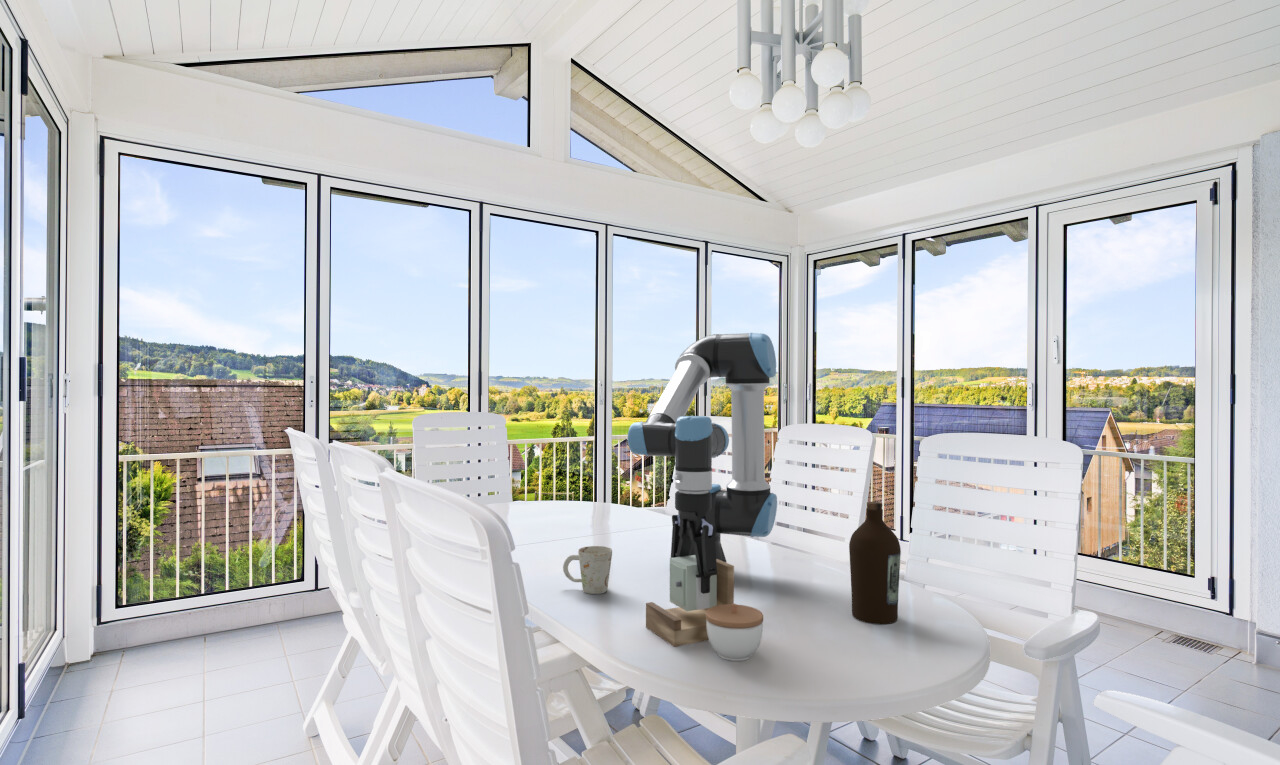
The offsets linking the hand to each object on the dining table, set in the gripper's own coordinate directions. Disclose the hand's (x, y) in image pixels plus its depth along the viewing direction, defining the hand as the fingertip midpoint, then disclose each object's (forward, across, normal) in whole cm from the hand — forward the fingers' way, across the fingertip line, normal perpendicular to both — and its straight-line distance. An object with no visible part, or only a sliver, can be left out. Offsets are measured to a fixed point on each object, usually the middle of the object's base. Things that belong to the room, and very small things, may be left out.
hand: (692, 602), depth 137 cm
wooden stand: (+6, 0, -1) cm, 6 cm away
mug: (+6, -36, -9) cm, 37 cm away
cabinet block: (0, 0, 0) cm, 0 cm away
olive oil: (+6, +10, +40) cm, 42 cm away
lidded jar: (+6, +14, +1) cm, 15 cm away
